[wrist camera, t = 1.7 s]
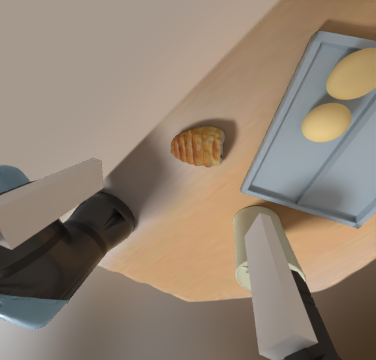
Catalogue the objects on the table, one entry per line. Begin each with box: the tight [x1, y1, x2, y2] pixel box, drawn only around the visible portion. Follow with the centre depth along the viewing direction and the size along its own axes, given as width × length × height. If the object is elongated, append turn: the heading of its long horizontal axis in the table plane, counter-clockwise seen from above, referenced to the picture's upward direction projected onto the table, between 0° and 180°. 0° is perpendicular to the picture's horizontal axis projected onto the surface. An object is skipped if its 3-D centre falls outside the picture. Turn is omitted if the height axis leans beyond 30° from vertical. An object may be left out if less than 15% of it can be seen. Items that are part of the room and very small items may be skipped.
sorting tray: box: [240, 30, 376, 228], centre depth 21 cm, size 20×22×2 cm
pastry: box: [171, 126, 225, 167], centre depth 25 cm, size 9×7×4 cm
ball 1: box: [326, 48, 376, 100], centre depth 16 cm, size 5×5×5 cm
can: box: [233, 206, 306, 292], centre depth 26 cm, size 9×9×12 cm
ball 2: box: [301, 103, 352, 142], centre depth 19 cm, size 5×5×5 cm
